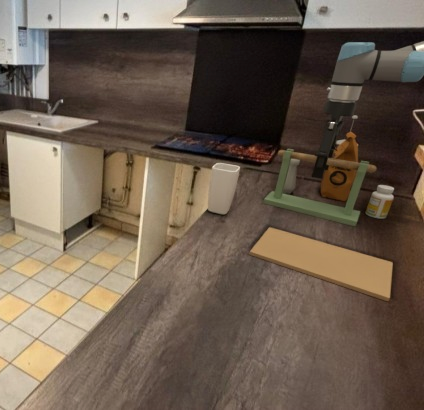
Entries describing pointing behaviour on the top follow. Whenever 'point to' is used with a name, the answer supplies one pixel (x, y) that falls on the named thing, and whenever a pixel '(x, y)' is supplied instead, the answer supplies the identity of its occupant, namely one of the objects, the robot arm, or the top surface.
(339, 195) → the coffee package
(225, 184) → the cup
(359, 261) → the mat
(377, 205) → the supplement bottle
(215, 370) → the top surface
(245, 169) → the top surface
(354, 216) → the rack
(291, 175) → the salt shaker
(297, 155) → the rod
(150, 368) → the top surface
